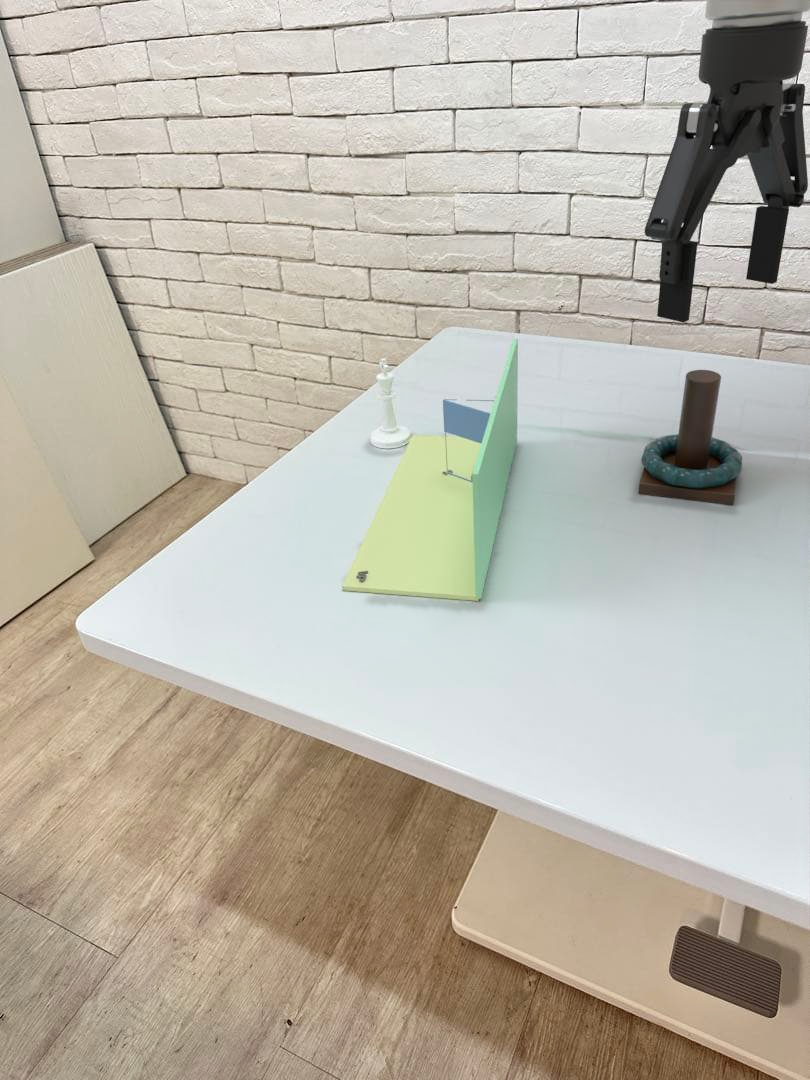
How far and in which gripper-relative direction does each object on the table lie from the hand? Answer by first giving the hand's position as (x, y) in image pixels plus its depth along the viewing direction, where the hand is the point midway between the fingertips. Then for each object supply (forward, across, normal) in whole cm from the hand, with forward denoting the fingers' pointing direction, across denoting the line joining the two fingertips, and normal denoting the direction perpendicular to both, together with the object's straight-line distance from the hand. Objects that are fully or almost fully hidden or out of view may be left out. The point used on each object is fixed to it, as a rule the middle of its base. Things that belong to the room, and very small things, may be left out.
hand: (718, 299), depth 72 cm
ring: (+16, +1, 0) cm, 16 cm away
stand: (+18, +1, 0) cm, 19 cm away
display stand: (+18, +22, -14) cm, 32 cm away
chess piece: (+18, +17, -30) cm, 39 cm away
